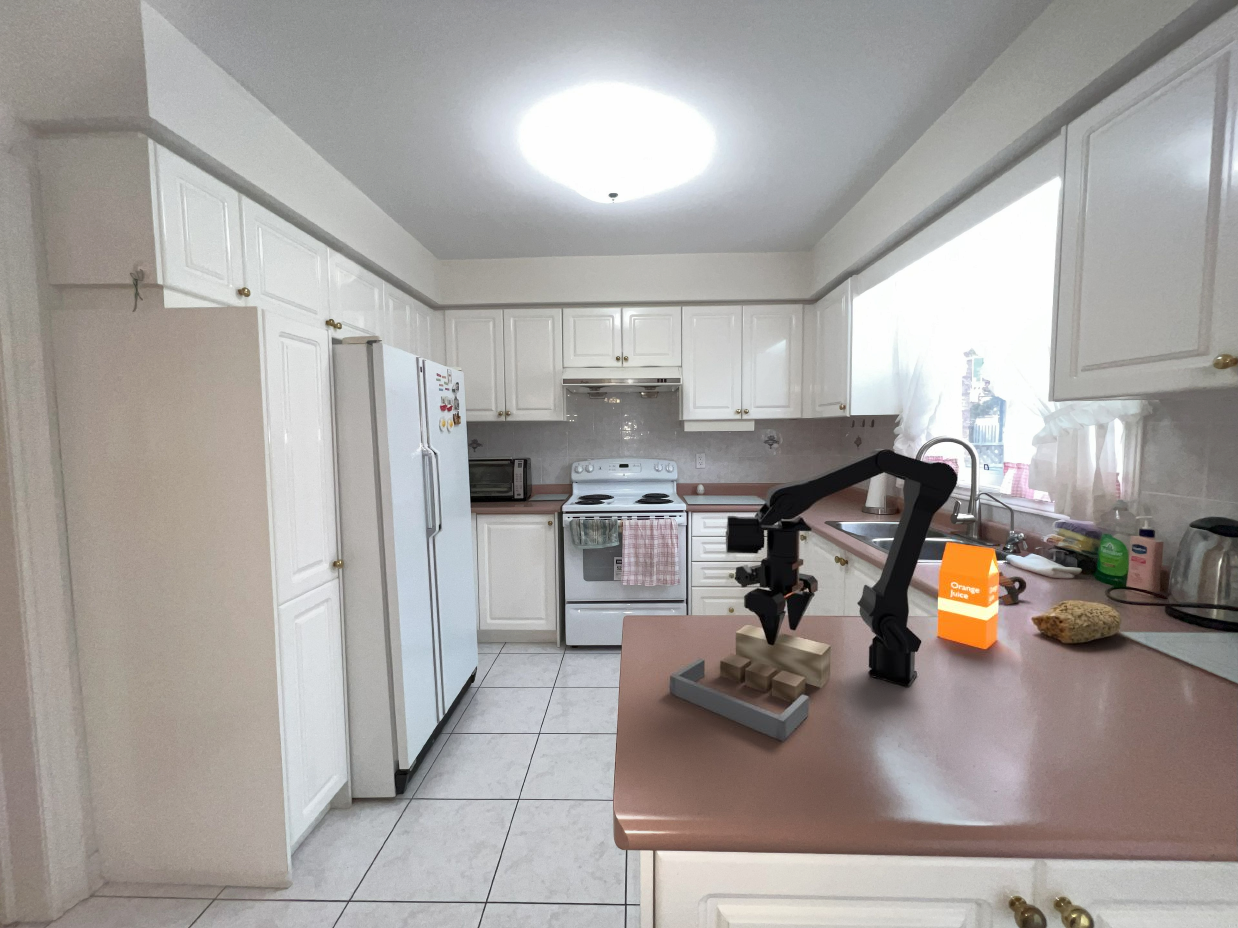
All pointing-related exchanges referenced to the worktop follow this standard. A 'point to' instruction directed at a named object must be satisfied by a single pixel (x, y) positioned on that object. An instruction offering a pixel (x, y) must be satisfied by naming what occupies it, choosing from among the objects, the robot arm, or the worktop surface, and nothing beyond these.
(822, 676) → the block
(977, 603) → the orange juice
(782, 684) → the walnut chip
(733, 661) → the walnut chip
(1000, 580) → the pottery mug
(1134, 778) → the worktop surface
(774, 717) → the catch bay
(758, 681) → the block
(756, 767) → the worktop surface
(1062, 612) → the tan porous lump
